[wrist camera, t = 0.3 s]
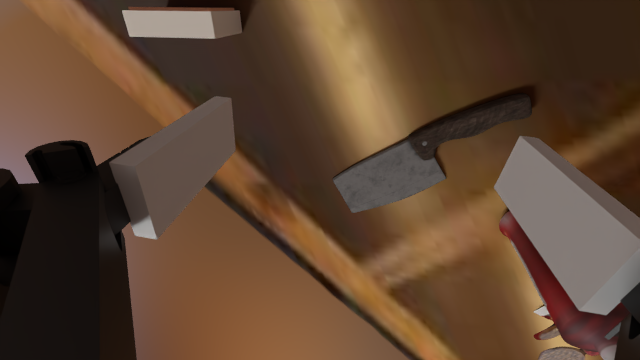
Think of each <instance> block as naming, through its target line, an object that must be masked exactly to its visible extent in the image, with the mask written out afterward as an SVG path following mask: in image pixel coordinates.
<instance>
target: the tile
mask: <svg viewBox="0 0 640 360" xmlns="http://www.w3.org/2000/svg"><path fill="white" fill-rule="evenodd" d="M122 13H123V16H124V19H125V23H126V26H127V29H128V32H129V36H130V37H172V38H214V39H215V38H220V37H225V36H229V35H234V34H238V33H242V26H241V18H240V10H234V8H220V7H129V10H122Z"/></svg>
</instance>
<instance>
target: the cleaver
mask: <svg viewBox="0 0 640 360" xmlns="http://www.w3.org/2000/svg"><path fill="white" fill-rule="evenodd" d="M531 114H532V108H531V100H530V98H529V96H528V95H526V94H524V93H521V94H515V95H511V96H507V97H504V98H500V99H497V100H494V101H491V102H488V103H485V104H482V105H479V106H476V107H474V108H471V109H468V110H465V111H463V112H460V113H457V114H455V115H452V116H450V117H447V118H445V119H442V120H440V121H437V122H435V123H433V124H431V125H428V126H426V127H424V128H422V129H420V130H418V131H416V132H414V133H412V134H410V135H409V136H408V139H407V140H405V141H403V142H400V143H398V144H396V145H394V146H392V147H390V148H388V149H386V150H384V151H382V152H380V153H378V154H376V155H374V156H371V157H369V158H367V159H365V160H363V161H361V162H359V163H358V164H356V165H354V166H352V167H350V168H349V169H347V170H345V171H344V172H342V173H340V174H339V175H337V176H336V177H334V178H333V182H334V183H335V185H336V187H337V188H338V190H339V192H340V193H341V195H342V197H343V198H344V200H345V202H346V204H347V205H348V207H349V209H350V210H351V211H352V213H355V212H359V211H363V210H367V209H371V208H375V207H379V206H382V205H386V204H389V203H393V202H396V201H399V200H402V199H405V198H407V197H409V196H412V195H414V194H416V193H418V192H420V191H423V190H425V189H427V188H429V187H431V186H433V185H435V184H437V183H438V182H440V181H442V180H444V179H446V177H445V175H444V173H443V172H442V170H441V168H440V166H439V164H438V163H437V161H436V159H435V151H436V148H437V147H438V146H439V145H440V144H441V143H443V142H446V141H449V140H453V139H460V138H467V137H472V136H475V135H477V134H480V133H482V132H484V131H486V130H487V129H489V128H491V127H493V126H495V125H497V124H500V123H503V122H507V121H512V120H518V119H524V118H527V117H529V116H530V115H531Z"/></svg>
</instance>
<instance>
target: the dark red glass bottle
mask: <svg viewBox="0 0 640 360" xmlns="http://www.w3.org/2000/svg"><path fill="white" fill-rule="evenodd" d="M499 228H500V231H501V232H502V233H503V234H504V235H505V236H507V237H508V238H509V240H510V241H511V243H512V245H513V247H514V248H515V250H516V252H517V254H518V256H519V257H520V259H521V261H522V263H523V265H524V267H525V268H526V270H527V272H528V274H529V276H530V278H531V280H532V282H533V284H534V286H535V288H536V290H537V292H538V294H539V296H540V298H541V300H542V301H543V303H544V305H545V307H546V309H547V311H548V312H549V314H550V316H551V318H552V320H553V322H554V323H555V325H556V327H557V329H558V331H559V333H560V335H561V337H562V338H563V340H564V341H565V342H566V343H568V344H570V345H572V346H575V347H578V348H581V349H584V350H587V351H591V352H598V353H599V354H600V355H601V357H602V358H603V359H604V360H614V358H615V352H616V347H617V345H616V344H617V341H618V337H612V338H611V339H610V340H608V339H607V338H605V335H606V334H607V333H608V332H609V331H610V330H611V329H613V328H614V327H615V326H616V325H617V324H618V323H619V322H621V321H622V320H623V319H624V318H625V317H626V316H627V315H629V314H630V312H629V311H628V310H627V308H626V307H625V306H624V305H623V304H622V303H621V302H620V303H619V304H618V305H617V306H616V307H615V308H614V309H613V310H611V311H610V312H609V313H608V314H607V315H602V314H596V313H590V312H584V311H579V310H578V309H577V307H576V306H575V304H574V303H573V301H572V300H571V298H570V297H569V296H568V294H567V293H566V291H565V290H564V288H563V287H562V285H561V284H560V283H559V281H558V280H557V278H556V277H555V275H554V274H553V272H552V271H551V269H550V268H549V267H548V265H547V264H546V262H545V261H544V259H543V258H542V256H541V255H540V254H539V252H538V251H537V249H536V248H535V246H534V245H533V243H532V242H531V241H530V239H529V238H528V236H527V235H526V233H525V232H524V230H523V229H522V227H521V226H520V225H519V223H518V222H517V220H516V219H515V217H514V216H513V214H512V213H511V212H510V211H508V212H507V213H506V214H505V215H504V216H503V217H502V219H501V220H500V223H499Z"/></svg>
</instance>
